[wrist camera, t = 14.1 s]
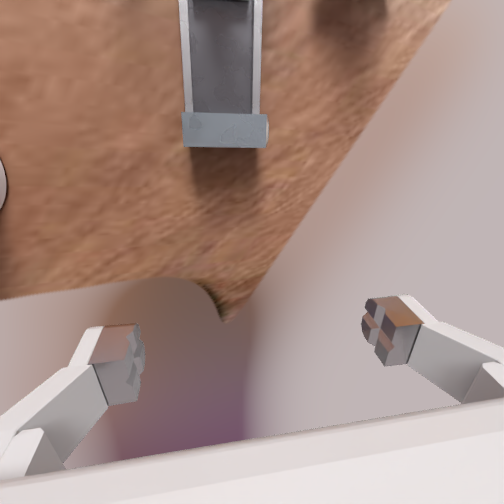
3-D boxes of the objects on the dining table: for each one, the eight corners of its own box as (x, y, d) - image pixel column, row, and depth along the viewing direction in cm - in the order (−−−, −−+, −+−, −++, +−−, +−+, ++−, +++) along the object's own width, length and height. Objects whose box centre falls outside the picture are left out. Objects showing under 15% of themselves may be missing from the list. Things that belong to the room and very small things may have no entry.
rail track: (189, 144, 35) (183, 147, 28) (172, -148, 26) (157, -251, 19) (259, 145, 36) (270, 149, 29) (267, -135, 27) (286, -228, 20)
